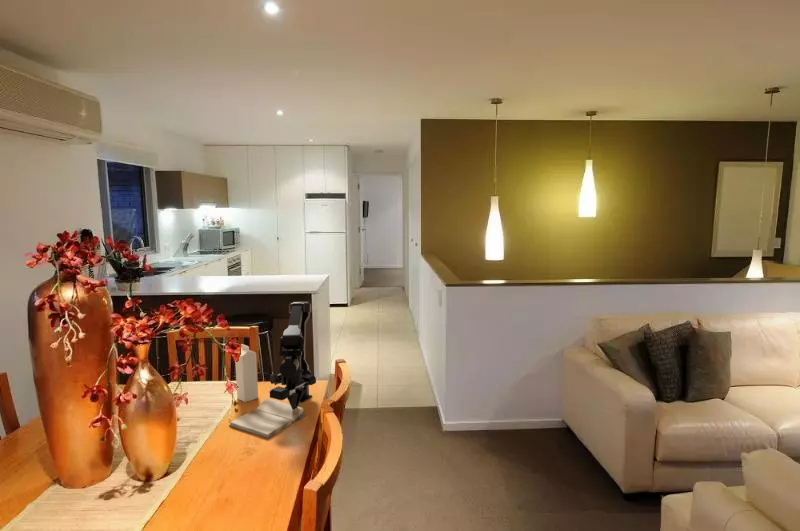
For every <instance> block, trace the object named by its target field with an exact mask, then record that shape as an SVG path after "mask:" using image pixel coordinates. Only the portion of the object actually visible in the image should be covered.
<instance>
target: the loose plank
mask: <svg viewBox="0 0 800 531" xmlns="http://www.w3.org/2000/svg"><path fill="white" fill-rule="evenodd" d="M255 410H259V411H262V412H265V413H269V414H272V415H276V416H279V417H283V418H286V419H289V420H292V422H294V421H295V420H296V419H297V418H298V416H299V415H300V414H303V413H304V408H303V407H300V406H298V407H297V408H295V409H292V407H291V405H290V403H286V402H282V401H280V400H277V399H273V398H268V397H266V398H265V399H264V400H263V401H262V402H261V403H260V404H259V405H258V406H257V407H256V408H255Z"/></svg>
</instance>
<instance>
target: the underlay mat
mask: <svg viewBox="0 0 800 531" xmlns="http://www.w3.org/2000/svg"><path fill="white" fill-rule="evenodd" d="M305 417H306V414H303V413H301V414H300V415H299V416H298V418H297V419H296V420H295V421H294V422H292V424H290V425H288V426H287V427H285V428H283V429H282V430H280V431H278V432H277V433H275V434H273V435H272V436H270V437H268V438H267V437H264V436H261V435H258V434H255V433H252V432H249V431H246V430H243V429H240V428H236V427H233V426H230V424H229V425H228V427H231V428H234V429H236V430H239V431H243V432H246V433H249V434H252V435H254V436H257V437H260V438H263V439H270V438H272V437H273V436H274V435H277V434H278V433H280V432H282V431H283V430H285V429H286V428H289V427H290V426H291V425H293V424H295V423H296V422H298V421H300V420H302V419H304V418H305Z"/></svg>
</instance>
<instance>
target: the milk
mask: <svg viewBox="0 0 800 531" xmlns="http://www.w3.org/2000/svg"><path fill="white" fill-rule="evenodd" d="M240 348H241V355H240V357H239V361H238V362H236V361H235V360H234V361H235V362H234V363H235V378H236V380H235V381H236V387H237V386H238V387H239V389H238V390H237V389H236V397H237V399H238V400H240V401H241V400H242V401H241V402H243V403H247V401H248V402H251V401H253V400H257V399H258V398H259V388H258V387H259V386H258V385H259V384H258V368H257V367H258V365H257V352H255V351H252V350H250V347H249V346H248V345H246V344H243V343H241V347H240Z"/></svg>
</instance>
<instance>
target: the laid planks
mask: <svg viewBox="0 0 800 531" xmlns="http://www.w3.org/2000/svg"><path fill="white" fill-rule="evenodd" d="M290 424H291V425H293V424H292V420H289V419H286V418H283V417H279V416H276V415H272V414H269V413H265V412H262V411H259V410H256V409H253V410H251V411H249V412H247V413H246V414H243V415H241V416H239V417H238V418H235V419H234V420H232V421H230V422H229V425H230V426H233V427H236V428H240V429H243V430H246V431H249V432H252V433H255V434H258V435H261V436H264V437H267V438H268V437H270V436H271V437H273V436H274V435H273V434H275V433H276V434H278V433H279V432H278V431H280V430H281V431H283V430H284V429H283V428H285V427H286V428H288V427H289V426H288V425H290ZM291 425H290V426H291ZM230 426H229V427H230ZM287 426H288V427H287ZM233 427H232V428H233ZM236 428H235V429H236ZM286 428H285V429H286ZM282 429H283V430H282ZM281 431H280V432H281ZM277 432H278V433H277ZM276 434H275V435H276ZM272 435H273V436H272ZM271 437H270V438H271ZM268 439H269V438H268Z"/></svg>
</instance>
